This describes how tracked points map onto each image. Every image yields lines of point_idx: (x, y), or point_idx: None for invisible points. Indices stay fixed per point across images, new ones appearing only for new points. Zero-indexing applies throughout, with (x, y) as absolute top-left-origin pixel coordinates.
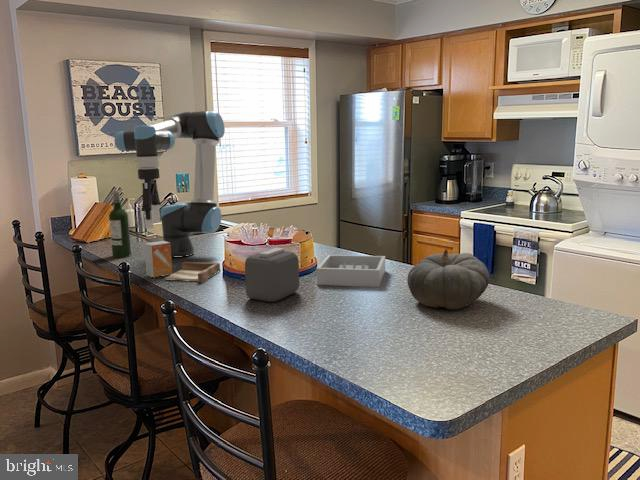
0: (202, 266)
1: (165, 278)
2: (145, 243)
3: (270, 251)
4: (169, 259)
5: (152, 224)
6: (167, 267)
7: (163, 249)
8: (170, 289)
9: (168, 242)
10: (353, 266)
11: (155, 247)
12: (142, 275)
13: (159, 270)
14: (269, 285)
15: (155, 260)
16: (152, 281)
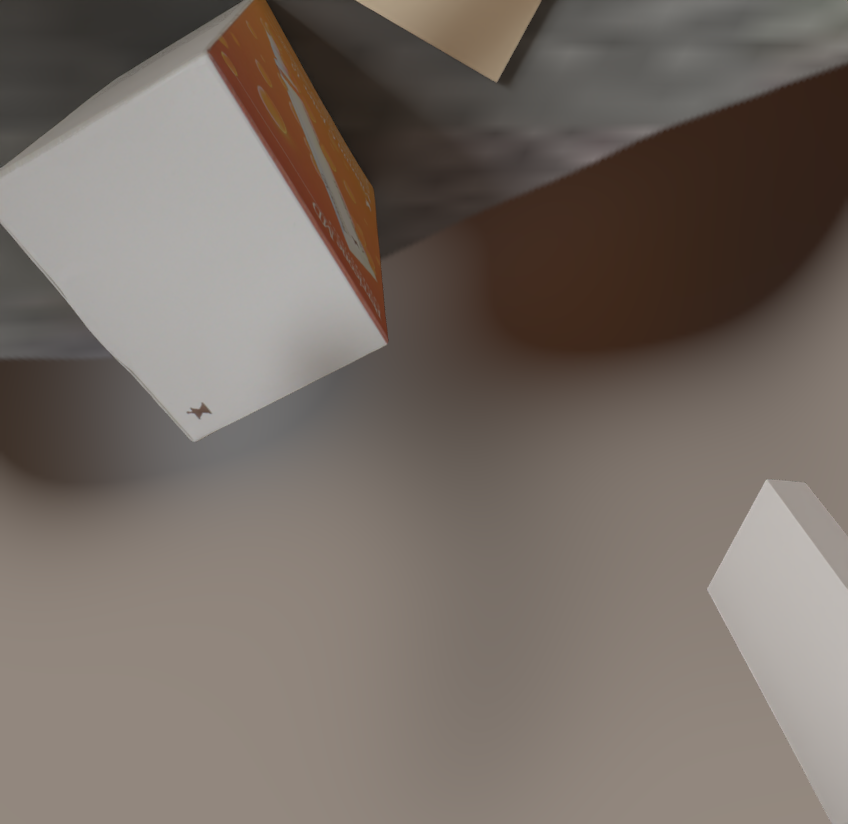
0: None
1: (498, 78)
2: (201, 428)
3: None
4: (258, 43)
5: (841, 546)
6: (287, 61)
7: (296, 156)
8: (845, 28)
9: (192, 88)
10: None
11: (364, 282)
12: None
13: (341, 152)
14: None
15: (363, 226)
16: (470, 200)
